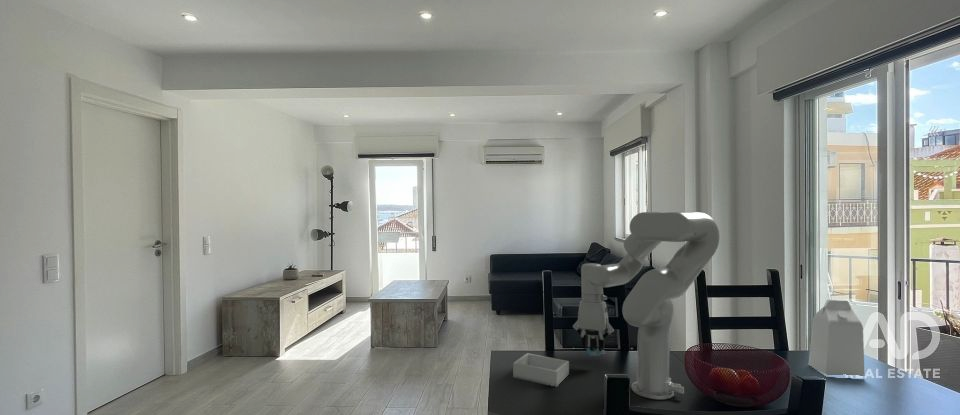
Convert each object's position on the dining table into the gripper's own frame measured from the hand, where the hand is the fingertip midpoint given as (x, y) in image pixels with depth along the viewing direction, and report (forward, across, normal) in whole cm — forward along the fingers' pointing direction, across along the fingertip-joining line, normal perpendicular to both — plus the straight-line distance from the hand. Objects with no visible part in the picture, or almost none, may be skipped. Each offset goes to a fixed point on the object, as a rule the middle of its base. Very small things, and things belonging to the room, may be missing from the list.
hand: (593, 348), depth 167 cm
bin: (+7, +13, +16) cm, 22 cm away
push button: (+2, -1, 0) cm, 3 cm away
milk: (+10, -75, -43) cm, 86 cm away
